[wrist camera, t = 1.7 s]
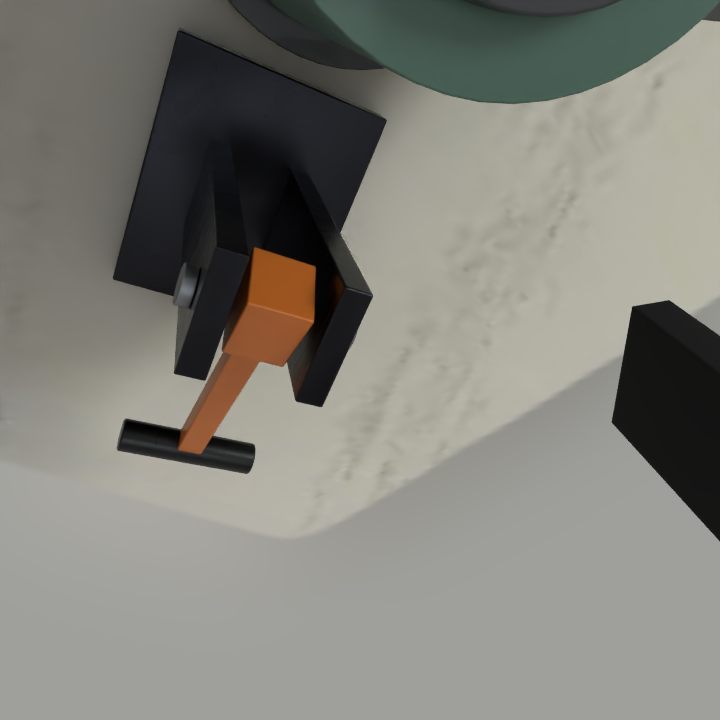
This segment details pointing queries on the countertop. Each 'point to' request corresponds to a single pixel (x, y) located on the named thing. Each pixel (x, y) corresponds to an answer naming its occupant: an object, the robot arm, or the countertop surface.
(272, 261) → the switch lever
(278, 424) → the countertop surface
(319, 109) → the switch bracket
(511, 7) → the kettle
